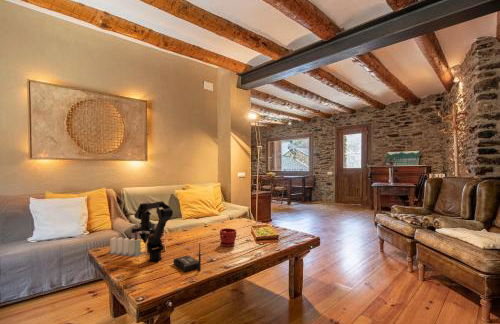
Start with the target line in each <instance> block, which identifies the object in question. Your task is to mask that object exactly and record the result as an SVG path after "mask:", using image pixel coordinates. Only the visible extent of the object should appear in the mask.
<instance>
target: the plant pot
mask: <svg viewBox="0 0 500 324" xmlns="http://www.w3.org/2000/svg"><path fill="white" fill-rule="evenodd" d="M219 238H220V245H221V246H222V247H233V246H234V245H235V244H236V242H235V241H236V238H237V230H236V229H234V228H222V229H220V230H219Z"/></svg>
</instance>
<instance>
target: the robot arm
mask: <svg viewBox="0 0 500 324" xmlns="http://www.w3.org/2000/svg"><path fill="white" fill-rule="evenodd" d="M161 208H162V209H161ZM153 209H156V211H155V212H156V214H157V218H158V222H157V223H156V225H155V223H152V221H151V220H150V219H151V215H152V213H151V211H152V210H153ZM173 212H174V210H173V209H172V207H170V205H168V204H166V203H165V202H164V201H163V200H162V201H155V202H143V203H139V206H138V207H137V209H136V212H135V213H134V214H133V215H134V219H137V220H140V222H139V225H140V227H138V226H136V227H133V228H132V229H131V230H130V232H131V234H136V233H138V235H139V236H140V239H142V240H141V241H142V242H143V243H144V244H146V249H147V252H148V254H149V257H148V258H149V260H148V262H151V263H159V261H161V260H163V257H162V251H164V245H163V244H162V239H161V237H162V235H163V232H164V229H165V226H166V224H167V222H168V221H169V220H170V219H172V217H173V214H174V213H173ZM150 235H151V236H150Z"/></svg>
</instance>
